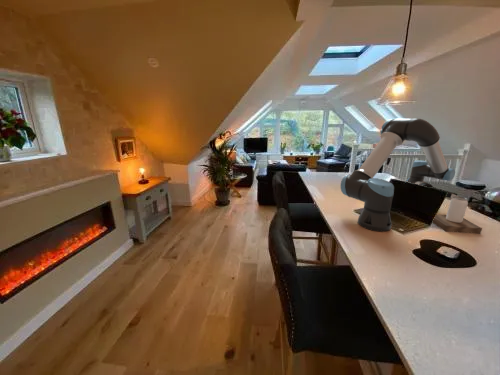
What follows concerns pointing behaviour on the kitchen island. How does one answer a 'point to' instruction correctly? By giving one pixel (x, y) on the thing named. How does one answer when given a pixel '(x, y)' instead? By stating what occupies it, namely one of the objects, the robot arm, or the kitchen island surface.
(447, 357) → the kitchen island surface
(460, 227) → the walnut board
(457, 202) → the can
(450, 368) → the kitchen island surface
